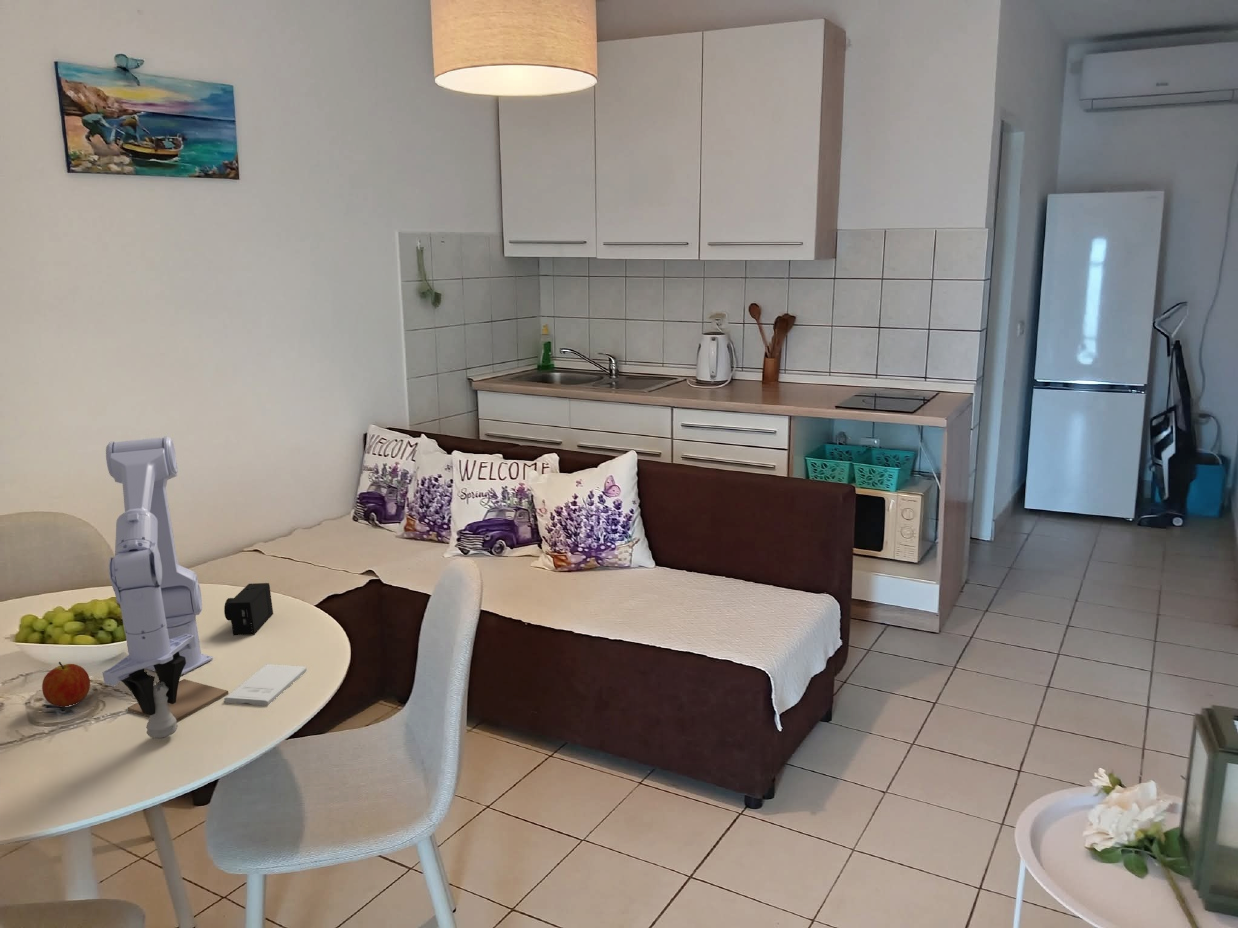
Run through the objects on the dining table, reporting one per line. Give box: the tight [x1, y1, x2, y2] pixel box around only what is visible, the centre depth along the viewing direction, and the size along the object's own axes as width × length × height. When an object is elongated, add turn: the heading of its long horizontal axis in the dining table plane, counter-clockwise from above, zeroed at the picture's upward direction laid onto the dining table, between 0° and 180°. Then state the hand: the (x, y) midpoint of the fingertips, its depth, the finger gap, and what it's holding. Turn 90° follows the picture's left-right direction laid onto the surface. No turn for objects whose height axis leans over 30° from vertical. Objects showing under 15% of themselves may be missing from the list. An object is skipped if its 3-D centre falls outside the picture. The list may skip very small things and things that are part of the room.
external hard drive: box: [223, 663, 308, 706], centre depth 163 cm, size 2×8×12 cm
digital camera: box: [223, 582, 274, 636], centre depth 189 cm, size 10×5×7 cm, turn 0°
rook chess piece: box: [146, 681, 179, 739], centre depth 146 cm, size 4×4×8 cm
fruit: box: [41, 661, 91, 708], centre depth 158 cm, size 7×7×8 cm
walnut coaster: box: [127, 678, 229, 724], centre depth 158 cm, size 11×11×1 cm
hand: (159, 707), depth 146 cm, fingers closed on rook chess piece, 3 cm apart
